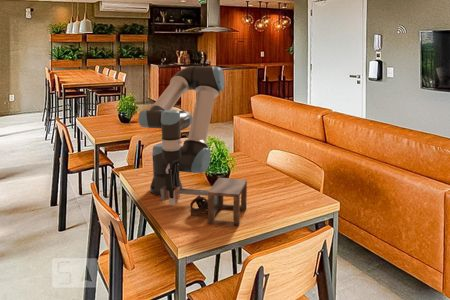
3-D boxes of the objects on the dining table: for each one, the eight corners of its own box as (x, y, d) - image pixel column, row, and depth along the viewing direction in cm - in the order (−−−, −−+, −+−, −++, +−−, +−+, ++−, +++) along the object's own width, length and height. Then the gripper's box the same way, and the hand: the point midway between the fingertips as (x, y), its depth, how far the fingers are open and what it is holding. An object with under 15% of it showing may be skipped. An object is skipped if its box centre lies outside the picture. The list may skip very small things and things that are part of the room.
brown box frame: (159, 213, 171) (158, 190, 168) (169, 203, 182) (168, 181, 180) (212, 218, 166) (211, 194, 164) (219, 207, 177) (218, 184, 175)
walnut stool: (208, 224, 164) (207, 192, 160) (218, 206, 181) (218, 177, 177) (238, 226, 161) (238, 194, 158) (246, 209, 178) (246, 179, 175)
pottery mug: (219, 216, 172) (211, 203, 167) (198, 228, 171) (190, 215, 166) (209, 200, 181) (202, 186, 176) (190, 210, 180) (182, 197, 176)
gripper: (174, 154, 161) (176, 211, 167) (186, 144, 176) (187, 197, 181) (156, 153, 163) (158, 209, 169) (168, 144, 177) (170, 196, 183)
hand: (173, 203), depth 175 cm, fingers closed on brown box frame, 2 cm apart
